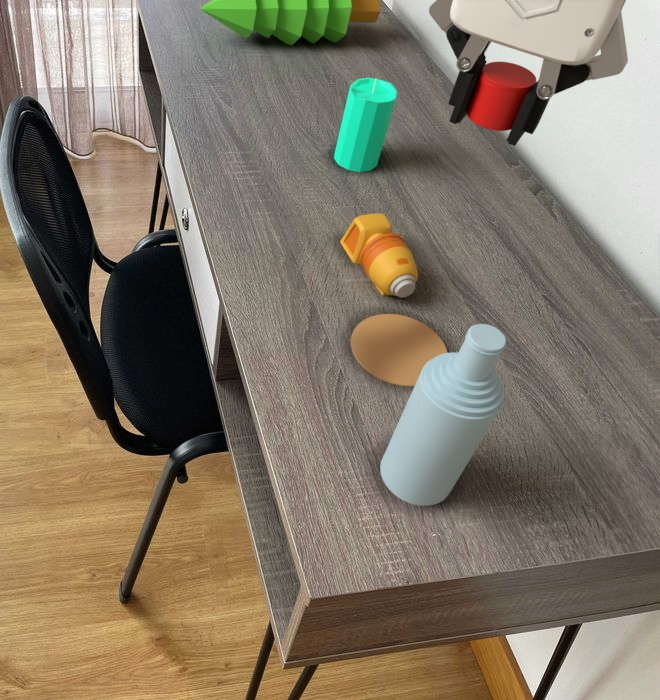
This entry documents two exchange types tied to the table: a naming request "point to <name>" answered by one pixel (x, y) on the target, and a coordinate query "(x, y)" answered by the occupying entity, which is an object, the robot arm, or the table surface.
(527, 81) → the cap
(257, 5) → the decorative tree
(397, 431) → the bottle
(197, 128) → the table surface
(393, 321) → the coaster
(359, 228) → the yellow plastic toy
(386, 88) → the candle
